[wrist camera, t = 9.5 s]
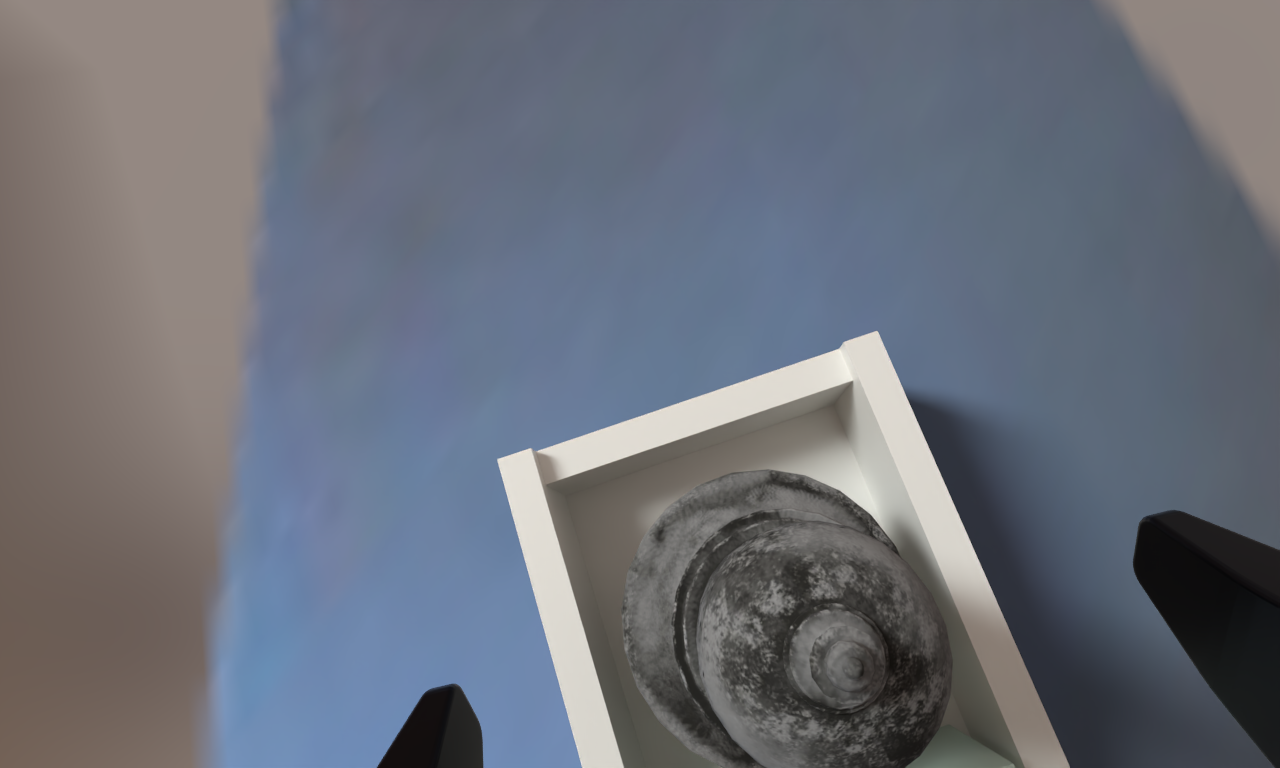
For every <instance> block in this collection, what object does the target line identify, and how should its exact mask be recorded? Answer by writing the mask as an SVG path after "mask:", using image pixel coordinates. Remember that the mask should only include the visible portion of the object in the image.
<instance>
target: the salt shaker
mask: <svg viewBox="0 0 1280 768" xmlns="http://www.w3.org/2000/svg"><path fill="white" fill-rule="evenodd" d="M621 612H622V625H623V639H624V649H625V652H626V655H627V658H628V661H629V664H630V667H631V670H632V673H633V676H634V679H635V682H636V685H637V688H638V689H639V691H640V693H641V694H642V696H643V697H644V699H645V700H646V702H647V703H648V705H649V707H650V708H651V710H652V711H653V713H654V714H655V716H656V717H657V719H658V721H659V722H660V723H661V724H662V725H663V726H664V727H665V728H666V729H667V730H668V731H669V732H671V733H672V734H673V735H674V736H675V737H676V738H677V739H678V740H679V741H680V742H681V743H682V744H684V745H685V746H686V747H687V748H688V749H689V750H690V751H692V752H694V753H696V754H697V755H699V756H701V757H703V758H705V759H707V760H709V761H711V762H713V763H715V764H717V765H718V766H720V767H722V768H905V767H906V766H908V765H909V764H910V763H912V762H913V761H914V760H915V759H917V758H918V757H919V756H921V754H922V753H923V751H924V750H925V748H926V747H927V746H928V744H929V743H930V741H931V740H932V738H933V737H934V735H935V734H936V733H937V731H938V730H939V728H940V726H941V723H942V720H943V717H944V714H945V711H946V708H947V705H948V702H949V699H950V696H951V683H952V666H953V659H952V653H951V648H950V643H949V638H948V633H947V627H946V624H945V622H944V620H943V618H942V615H941V613H940V611H939V609H938V607H937V604H936V602H935V600H934V598H933V596H932V593H931V592H930V591H929V589H928V588H927V587H926V586H925V584H924V583H923V582H922V581H921V579H920V578H919V577H918V575H917V574H916V573H915V572H914V570H913V569H912V568H911V566H910V565H909V564H908V563H907V562H906V561H905V560H904V559H902V558H901V557H900V554H899V552H898V550H897V548H896V546H895V545H894V543H893V542H892V541H891V540H890V538H889V537H888V536H887V534H886V533H885V532H884V531H883V529H882V528H881V527H880V526H879V524H878V523H877V522H876V520H875V519H874V518H873V517H872V515H871V514H869V513H868V512H867V511H866V510H864V509H863V508H862V507H860V506H859V505H858V504H857V503H855V502H854V501H853V500H851V499H850V498H849V497H848V496H846V495H845V494H844V493H842V492H841V491H840V490H837V489H835V488H833V487H831V486H828V485H826V484H824V483H821V482H819V481H817V480H815V479H812V478H810V477H808V476H806V475H800V474H794V473H788V472H782V471H776V470H770V469H766V470H755V471H745V472H734V473H729V474H727V475H724V476H721V477H719V478H716V479H713V480H711V481H708V482H705V483H703V484H700V485H697V486H696V487H694V488H693V489H692V490H690V491H689V492H688V493H686V494H685V495H683V496H682V497H681V498H679V499H678V500H676V501H675V502H674V503H672V504H671V505H669V506H668V507H667V508H666V509H665V510H664V512H663V513H662V514H661V515H660V517H659V518H658V519H657V520H656V521H655V523H654V524H653V525H652V526H651V528H650V529H649V530H648V531H647V532H646V534H645V535H644V536H643V539H642V541H641V543H640V545H639V547H638V549H637V552H636V554H635V556H634V558H633V560H632V563H631V565H630V567H629V569H628V573H627V579H626V585H625V590H624V596H623V602H622V607H621Z"/></svg>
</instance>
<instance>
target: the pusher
mask: <svg viewBox="0 0 1280 768" xmlns="http://www.w3.org/2000/svg"><path fill="white" fill-rule="evenodd" d="M905 768H1015V766H1014V764H1013V763H1012V762H1010V761H1008V760H1007V759H1005V758H1004V757H1002V756H1000V755H999V754H997V753H995V752H994V751H992V750H990V749H989V748H987V747H985V746H984V745H982V744H981V743H979V742H977V741H976V740H974V739H972V738H971V737H969V736H967V735H966V734H964V733H962V732H961V731H959V730H957V729H956V728H954V727H953V726H951V725H949V724H948V725H946V726H943V727H940V728H939V730H938V731H937V733H936V734H935V735H934V737H933V738H932V740H931V741H930V743H929V744H928V746H927V747H926V748H925V750H924V751H923V753H922V754H921V756H919V757H918V758H917V759H915V760H914V761H913V762H912V763H910V764H909V765H908V766H906V767H905Z"/></svg>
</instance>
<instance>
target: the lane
mask: <svg viewBox="0 0 1280 768" xmlns="http://www.w3.org/2000/svg"><path fill="white" fill-rule="evenodd" d="M497 460H498V464H499V468H500V471H501V475H502V479H503V482H504V486H505V489H506V493H507V497H508V500H509V504H510V508H511V511H512V515H513V518H514V522H515V526H516V529H517V533H518V536H519V540H520V544H521V547H522V551H523V555H524V558H525V562H526V565H527V569H528V573H529V576H530V580H531V584H532V587H533V591H534V594H535V598H536V602H537V605H538V609H539V612H540V616H541V620H542V623H543V627H544V631H545V634H546V638H547V641H548V645H549V649H550V652H551V656H552V660H553V663H554V667H555V670H556V674H557V678H558V681H559V685H560V689H561V692H562V696H563V699H564V703H565V707H566V710H567V714H568V717H569V721H570V725H571V728H572V732H573V736H574V739H575V743H576V746H577V750H578V754H579V757H580V761H581V765H582V768H722V767H720V766H718V765H717V764H715V763H713V762H711V761H709V760H707V759H705V758H703V757H701V756H699V755H697V754H696V753H694V752H692V751H690V750H689V749H688V748H687V747H686V746H685V745H684V744H682V743H681V742H680V741H679V740H678V739H677V738H676V737H675V736H674V735H673V734H672V733H671V732H669V731H668V730H667V729H666V728H665V727H664V726H663V725H662V724H661V723H660V722H659V721H658V719H657V717H656V716H655V714H654V713H653V711H652V710H651V708H650V707H649V705H648V703H647V702H646V700H645V699H644V697H643V696H642V694H641V693H640V691H639V689H638V688H637V685H636V682H635V679H634V676H633V673H632V670H631V667H630V664H629V661H628V658H627V655H626V652H625V649H624V639H623V625H622V612H621V607H622V602H623V596H624V590H625V585H626V579H627V573H628V569H629V567H630V565H631V563H632V560H633V558H634V556H635V554H636V552H637V549H638V547H639V545H640V543H641V541H642V539H643V536H644V535H645V534H646V532H647V531H648V530H649V529H650V528H651V526H652V525H653V524H654V523H655V521H656V520H657V519H658V518H659V517H660V515H661V514H662V513H663V512H664V510H665V509H666V508H667V507H668V506H669V505H671V504H672V503H674V502H675V501H676V500H678V499H679V498H681V497H682V496H683V495H685V494H686V493H688V492H689V491H690V490H692V489H693V488H694V487H696V486H697V485H700V484H703V483H705V482H708V481H711V480H713V479H716V478H719V477H721V476H724V475H727V474H729V473H734V472H745V471H755V470H766V469H770V470H776V471H782V472H788V473H794V474H800V475H806V476H808V477H810V478H812V479H815V480H817V481H819V482H821V483H824V484H826V485H828V486H831V487H833V488H835V489H837V490H840V491H841V492H842V493H844V494H845V495H846V496H848V497H849V498H850V499H851V500H853V501H854V502H855V503H857V504H858V505H859V506H860V507H862V508H863V509H864V510H866V511H867V512H868V513H869V514H871V515H872V517H873V518H874V519H875V520H876V522H877V523H878V524H879V526H880V527H881V528H882V529H883V531H884V532H885V533H886V534H887V536H888V537H889V538H890V540H891V541H892V542H893V543H894V545H895V546H896V548H897V550H898V552H899V554H900V557H901V558H902V559H904V560H905V561H906V562H907V563H908V564H909V565H910V566H911V568H912V569H913V570H914V572H915V573H916V574H917V575H918V577H919V578H920V579H921V581H922V582H923V583H924V584H925V586H926V587H927V588H928V589H929V591H930V592H931V593H932V596H933V598H934V600H935V602H936V604H937V607H938V609H939V611H940V613H941V615H942V618H943V620H944V622H945V624H946V627H947V633H948V638H949V643H950V648H951V653H952V659H953V666H952V683H951V696H950V699H949V702H948V705H947V708H946V711H945V714H944V717H943V720H942V723H941V726H940V727H943V726H946V725H948V724H949V725H951V726H953V727H954V728H956V729H957V730H959V731H961V732H962V733H964V734H966V735H967V736H969V737H971V738H972V739H974V740H976V741H977V742H979V743H981V744H982V745H984V746H985V747H987V748H989V749H990V750H992V751H994V752H995V753H997V754H999V755H1000V756H1002V757H1004V758H1005V759H1007V760H1008V761H1010V762H1012V763H1013V764H1014V766H1015V768H1070V766H1069V764H1068V761H1067V759H1066V757H1065V755H1064V752H1063V750H1062V748H1061V746H1060V743H1059V741H1058V739H1057V737H1056V734H1055V732H1054V730H1053V727H1052V725H1051V723H1050V721H1049V718H1048V716H1047V714H1046V712H1045V709H1044V707H1043V705H1042V703H1041V700H1040V698H1039V696H1038V693H1037V691H1036V689H1035V687H1034V684H1033V682H1032V680H1031V678H1030V675H1029V673H1028V671H1027V669H1026V666H1025V664H1024V662H1023V660H1022V657H1021V655H1020V653H1019V650H1018V648H1017V646H1016V644H1015V641H1014V639H1013V637H1012V635H1011V632H1010V630H1009V628H1008V626H1007V623H1006V621H1005V619H1004V617H1003V614H1002V612H1001V610H1000V607H999V605H998V603H997V601H996V598H995V596H994V594H993V592H992V589H991V587H990V585H989V583H988V580H987V578H986V576H985V573H984V571H983V569H982V567H981V564H980V562H979V560H978V558H977V555H976V553H975V551H974V549H973V546H972V544H971V542H970V540H969V537H968V535H967V533H966V530H965V528H964V526H963V524H962V521H961V519H960V517H959V515H958V512H957V510H956V508H955V506H954V503H953V501H952V499H951V496H950V494H949V492H948V490H947V487H946V485H945V483H944V481H943V478H942V476H941V474H940V472H939V469H938V467H937V465H936V463H935V460H934V458H933V456H932V453H931V451H930V449H929V447H928V444H927V442H926V440H925V438H924V435H923V433H922V431H921V429H920V426H919V424H918V422H917V419H916V417H915V415H914V413H913V410H912V408H911V406H910V404H909V401H908V399H907V397H906V395H905V392H904V390H903V388H902V386H901V383H900V381H899V379H898V376H897V374H896V372H895V370H894V367H893V365H892V363H891V361H890V358H889V356H888V354H887V352H886V349H885V347H884V345H883V343H882V340H881V338H880V336H879V333H878V331H875V332H872V333H869V334H866V335H863V336H861V337H858V338H855V339H852V340H849V341H846V342H843V344H842V346H841V347H840V349H837V350H835V351H832V352H829V353H826V354H823V355H820V356H817V357H814V358H811V359H808V360H805V361H802V362H799V363H796V364H793V365H790V366H787V367H784V368H781V369H778V370H775V371H773V372H770V373H767V374H764V375H761V376H758V377H755V378H752V379H749V380H746V381H743V382H740V383H737V384H734V385H731V386H728V387H725V388H722V389H719V390H716V391H713V392H711V393H708V394H705V395H702V396H699V397H696V398H693V399H690V400H687V401H684V402H681V403H678V404H675V405H672V406H669V407H666V408H663V409H660V410H657V411H654V412H651V413H649V414H646V415H643V416H640V417H637V418H634V419H631V420H628V421H625V422H622V423H619V424H616V425H613V426H610V427H607V428H604V429H601V430H598V431H595V432H592V433H589V434H587V435H584V436H581V437H578V438H575V439H572V440H569V441H566V442H563V443H560V444H557V445H554V446H551V447H548V448H545V449H542V450H539V451H534V450H533V449H532V448H530V449H527V450H524V451H521V452H518V453H515V454H512V455H509V456H506V457H503V458H500V459H497Z"/></svg>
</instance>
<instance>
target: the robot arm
mask: <svg viewBox="0 0 1280 768" xmlns="http://www.w3.org/2000/svg"><path fill="white" fill-rule="evenodd" d="M1133 567H1134V572H1135V575H1136V577H1137V579H1138V581H1139V583H1140V584H1141V586H1142V587H1143V589H1144V590H1145V592H1146V593H1147V595H1148V596H1149V598H1150V599H1151V601H1152V602H1153V604H1154V605H1155V607H1156V608H1157V610H1158V611H1159V613H1160V614H1161V616H1162V617H1163V619H1164V620H1165V622H1166V623H1167V625H1168V626H1169V628H1170V629H1171V631H1172V632H1173V634H1174V635H1175V637H1176V638H1177V640H1178V641H1179V643H1180V644H1181V646H1182V647H1183V649H1184V650H1185V652H1186V653H1187V655H1188V656H1189V658H1190V659H1191V661H1192V662H1193V663H1194V665H1195V666H1196V668H1197V669H1198V671H1199V672H1200V674H1201V675H1202V677H1203V678H1204V679H1205V681H1206V682H1207V684H1208V685H1209V686H1210V688H1211V689H1212V691H1213V692H1214V693H1215V694H1216V696H1217V697H1218V698H1219V699H1220V701H1221V702H1222V703H1223V705H1224V706H1225V707H1226V708H1227V710H1228V711H1229V712H1230V713H1231V714H1232V716H1233V717H1234V718H1235V719H1236V721H1237V722H1238V723H1239V724H1240V725H1241V727H1242V728H1243V729H1244V730H1245V732H1246V733H1247V734H1248V735H1249V736H1250V738H1251V739H1252V740H1253V741H1254V743H1255V744H1256V745H1257V746H1258V747H1259V749H1260V750H1261V751H1262V752H1263V754H1264V755H1265V756H1266V757H1267V758H1268V760H1269V761H1270V762H1271V763H1272V765H1273V766H1274V767H1275V768H1280V550H1278V549H1275V548H1273V547H1270V546H1268V545H1265V544H1263V543H1260V542H1258V541H1255V540H1253V539H1250V538H1248V537H1245V536H1243V535H1240V534H1238V533H1235V532H1233V531H1230V530H1228V529H1225V528H1223V527H1220V526H1217V525H1215V524H1212V523H1210V522H1207V521H1205V520H1202V519H1200V518H1197V517H1195V516H1192V515H1190V514H1187V513H1185V512H1181V511H1177V510H1170V511H1165V512H1161V513H1157V514H1153V515H1149V516H1146V517H1144V518H1143V519H1142V520H1141V521H1140V523H1139V526H1138V532H1137V539H1136V545H1135V551H1134V558H1133ZM377 768H483V740H482V731H481V726H480V723H479V721H478V718H477V716H476V715H475V713H474V711H473V709H472V707H471V705H470V703H469V701H468V700H467V698H466V696H465V694H464V692H463V690H462V689H461V687H460V686H459V685H457V684H449V685H445V686H441V687H436V688H432V689H430V690H428V691H426V692H425V693H424V694H423V696H422V697H421V698H420V700H419V702H418V703H417V705H416V706H415V708H414V710H413V711H412V713H411V714H410V716H409V717H408V719H407V721H406V722H405V724H404V725H403V727H402V729H401V730H400V732H399V733H398V735H397V736H396V738H395V740H394V741H393V743H392V744H391V746H390V748H389V749H388V751H387V752H386V754H385V755H384V757H383V759H382V760H381V762H380V763H379V765H378V767H377Z"/></svg>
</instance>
